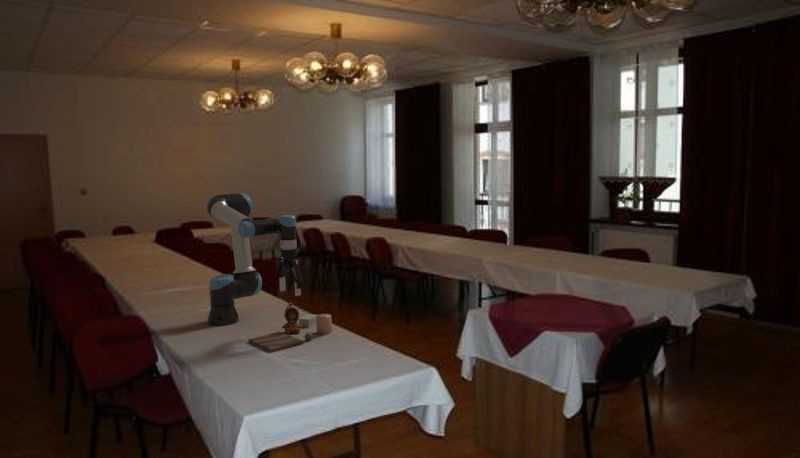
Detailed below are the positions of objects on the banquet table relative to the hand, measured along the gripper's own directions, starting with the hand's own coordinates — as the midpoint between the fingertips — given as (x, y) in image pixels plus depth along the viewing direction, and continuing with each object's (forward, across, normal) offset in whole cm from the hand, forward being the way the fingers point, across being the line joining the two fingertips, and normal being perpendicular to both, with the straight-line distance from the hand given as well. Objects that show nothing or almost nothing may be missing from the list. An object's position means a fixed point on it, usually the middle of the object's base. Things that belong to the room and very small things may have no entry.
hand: (290, 293), depth 275 cm
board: (+19, +10, -14) cm, 25 cm away
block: (+19, -6, +14) cm, 24 cm away
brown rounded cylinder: (+19, +11, +11) cm, 24 cm away
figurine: (+19, 0, +1) cm, 19 cm away
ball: (+19, +17, -1) cm, 25 cm away
